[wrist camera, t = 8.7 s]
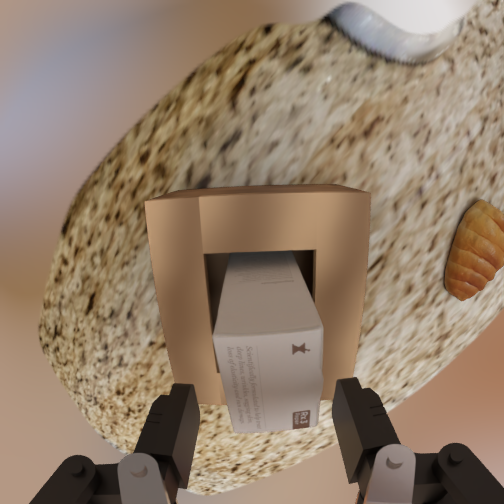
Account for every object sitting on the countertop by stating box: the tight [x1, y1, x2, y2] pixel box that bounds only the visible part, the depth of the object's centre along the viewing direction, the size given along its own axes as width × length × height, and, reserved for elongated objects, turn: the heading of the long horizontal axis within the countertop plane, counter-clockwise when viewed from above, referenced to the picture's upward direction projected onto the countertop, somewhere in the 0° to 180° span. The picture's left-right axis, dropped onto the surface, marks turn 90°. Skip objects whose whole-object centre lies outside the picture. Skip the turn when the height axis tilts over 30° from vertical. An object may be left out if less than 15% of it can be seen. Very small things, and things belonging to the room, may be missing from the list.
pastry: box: [444, 200, 504, 301], centre depth 21 cm, size 9×7×4 cm
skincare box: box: [212, 250, 324, 433], centre depth 17 cm, size 6×4×12 cm
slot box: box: [145, 184, 371, 405], centre depth 20 cm, size 12×14×7 cm
